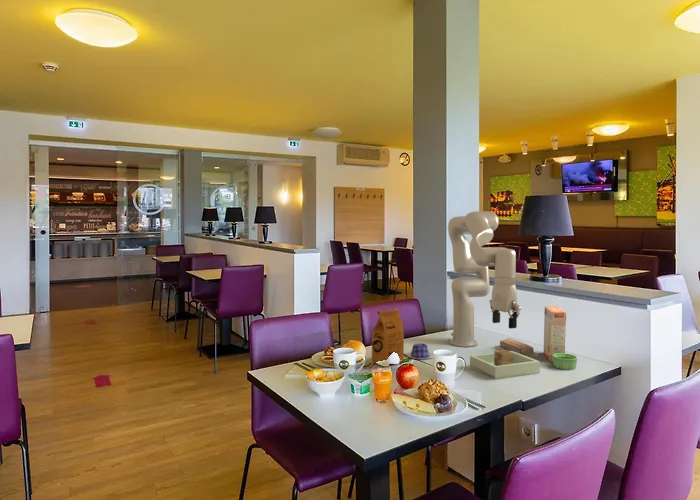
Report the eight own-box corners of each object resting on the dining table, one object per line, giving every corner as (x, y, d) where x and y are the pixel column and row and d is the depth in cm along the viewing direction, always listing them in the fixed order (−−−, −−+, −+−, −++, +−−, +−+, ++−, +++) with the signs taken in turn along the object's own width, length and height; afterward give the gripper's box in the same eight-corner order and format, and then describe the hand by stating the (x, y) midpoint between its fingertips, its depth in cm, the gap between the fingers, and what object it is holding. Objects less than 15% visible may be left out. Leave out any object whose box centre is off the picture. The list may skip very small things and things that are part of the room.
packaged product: (538, 346, 201) (517, 347, 198) (538, 357, 201) (517, 359, 199) (514, 336, 218) (494, 337, 216) (514, 346, 218) (494, 348, 216)
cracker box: (565, 363, 191) (566, 312, 190) (550, 362, 192) (550, 311, 191) (557, 353, 205) (558, 306, 203) (543, 353, 206) (543, 305, 205)
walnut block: (494, 366, 184) (494, 351, 184) (504, 364, 186) (505, 349, 186) (502, 369, 179) (502, 354, 179) (513, 368, 181) (513, 353, 181)
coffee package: (368, 362, 193) (367, 309, 192) (390, 357, 201) (390, 306, 200) (384, 368, 186) (384, 313, 184) (407, 362, 193) (407, 309, 192)
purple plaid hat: (430, 352, 209) (430, 340, 209) (437, 360, 197) (437, 348, 197) (403, 353, 208) (403, 341, 208) (409, 361, 196) (409, 348, 196)
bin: (470, 366, 187) (470, 355, 186) (511, 361, 193) (511, 350, 193) (495, 379, 172) (495, 367, 171) (539, 373, 178) (539, 361, 178)
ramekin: (582, 368, 185) (582, 357, 184) (567, 371, 180) (568, 360, 180) (561, 362, 192) (562, 351, 192) (547, 365, 188) (547, 355, 188)
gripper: (483, 279, 188) (482, 321, 189) (511, 284, 171) (510, 331, 172) (498, 278, 190) (498, 320, 191) (528, 283, 174) (527, 329, 175)
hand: (504, 325), depth 182 cm, fingers open, 9 cm apart
